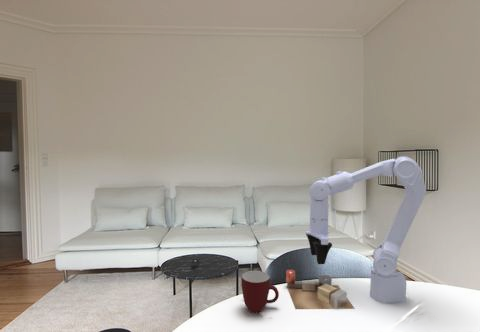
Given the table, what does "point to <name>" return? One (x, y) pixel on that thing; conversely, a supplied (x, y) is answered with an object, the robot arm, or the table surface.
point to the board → (312, 299)
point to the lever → (306, 282)
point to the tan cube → (326, 293)
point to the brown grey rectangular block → (338, 299)
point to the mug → (257, 290)
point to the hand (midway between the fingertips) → (317, 259)
